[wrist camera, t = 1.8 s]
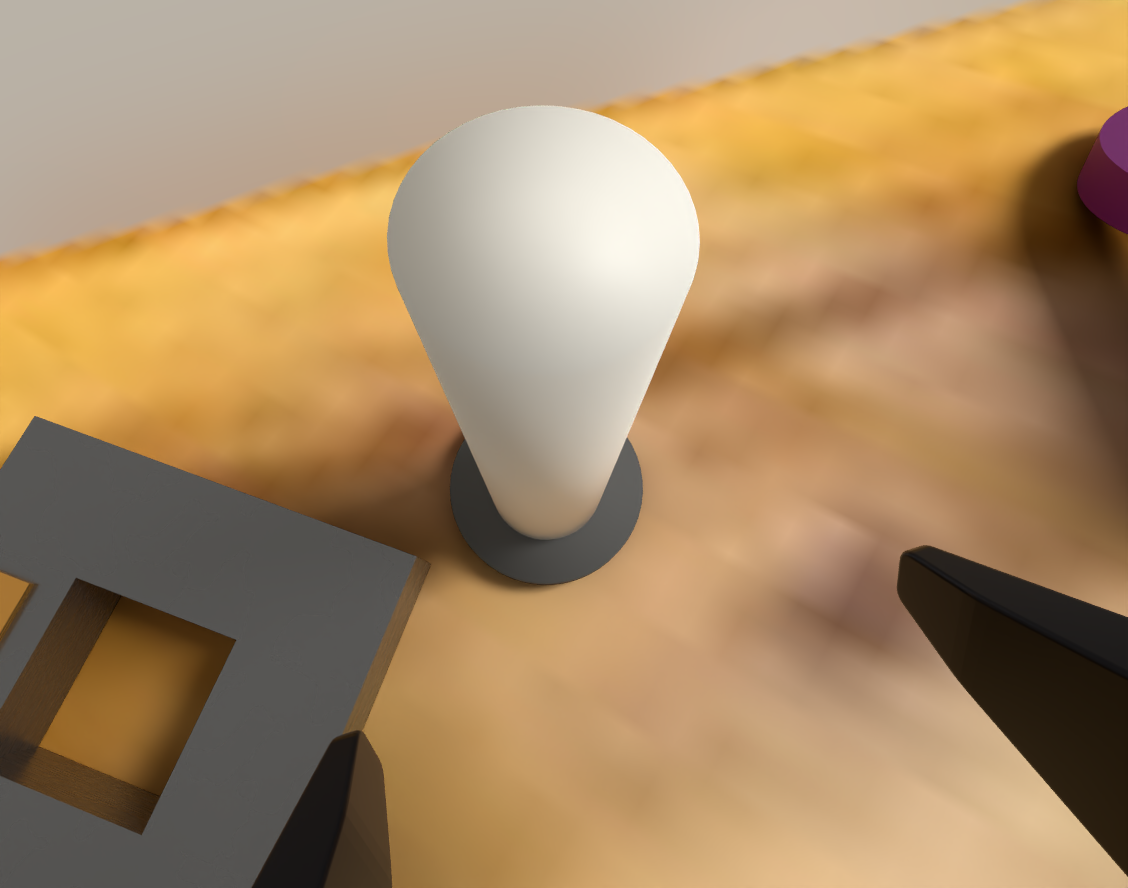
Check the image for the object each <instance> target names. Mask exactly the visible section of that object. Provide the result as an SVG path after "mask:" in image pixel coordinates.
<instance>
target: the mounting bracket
mask: <svg viewBox="0 0 1128 888" xmlns="http://www.w3.org/2000/svg"><path fill="white" fill-rule="evenodd" d="M1077 189H1078V193H1079V196H1080V198H1081V200H1082V201H1083V203H1084V204H1085V206H1086V207H1087V208H1088V209H1089V210H1090V211H1091V212H1092V213H1093V214H1095V215H1096V216H1097V217H1098V218H1100V219H1101V220H1103V221H1104V222H1106V223H1107V224H1109V225H1110V226H1112V227H1114V228H1116V229H1118V230H1120V231H1122V232H1124V233H1126V234H1128V107H1126V108H1123V109H1122V110H1120V111H1118V112H1117V113H1115V114H1114V115H1113V116H1111V117H1110V118H1109V119H1108V120H1107V121H1106V122H1105V123H1104V125H1103V127H1102V129H1101V131H1100V133H1099V135H1098V137H1097V139H1096V141H1095V143H1094V145H1093V147H1092V149H1091V151H1090V153H1089V155H1088V157H1087V160H1086V162H1085V164H1084V166H1083V168H1082V170H1081V172H1080V174H1079V177H1078V180H1077Z"/></svg>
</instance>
